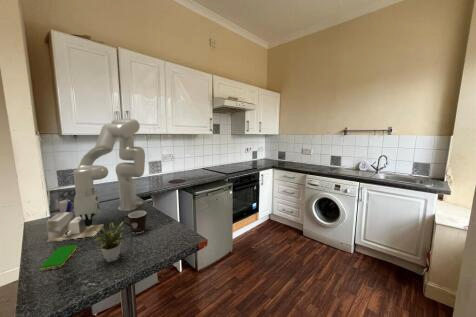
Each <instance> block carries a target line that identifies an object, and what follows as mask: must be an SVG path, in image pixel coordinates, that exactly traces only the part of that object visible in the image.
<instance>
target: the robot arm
mask: <svg viewBox="0 0 476 317" xmlns="http://www.w3.org/2000/svg"><path fill="white" fill-rule="evenodd" d="M140 126H141V125H140V122H139V121H138V120H136V119H132V118H131V119H130V118H115V119H113V120H112V121H111V123H107V124H106V123H105V124H104V125H103V126H101V130H100V132H99V135H98V137H97V141H96V144H95V145H94V147H93V148H91V149H90V150H89V151H87V152H86V154H84V155H83V157H82V158H81V160H80V162H79V165H78V167H77V168H76V169H74V170H73V180H74V190H75V195H74V199H73V211H74V217H81V218H83V220H84V223H85V225H86V227H90V226H91V225H92V224H93V217H94V216H97V215H99V214H100V210H101V208H100V201H99V197H98V194H97V192H98V189H97V188H95V186H94V181H98V180H103V179H105V178H107V176H108V174H109V169H108V167H106V166H104V165H95V164H94V163H95V161H96V160H97V159H99V158H101V157H103V156H105V155H108V154H111V152H113V150H114V146H115V145H116V141H117V139H118V140H119V147H118V157H119V159H120V160H122V161H124V162H119V163H118V164H117V165H116V167H115V175H116V177H117V178H116V179H117V181H118V182H117V184H118V195H119V206H118V207H117V210H118V211H120V212H129V211H130V212H131V211H133V210H136V209H138V208H139V206H141V205H143V201H142V200H140V201H139V200H138V199H137V197H136V186H135V185H136V183H135V180H134V178H141V177H142V176H143V175H144V173H145V164H146V153H145V149H144V148H143V147H141V146H135V138H134V136H133V135H135V134H136V133H138V132H139V130H140ZM125 161H130V162H125Z"/></svg>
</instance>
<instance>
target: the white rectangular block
mask: <svg viewBox="0 0 476 317" xmlns="http://www.w3.org/2000/svg"><path fill="white" fill-rule="evenodd" d="M69 228H70V231H69V232H68V233H67V235H70V234H78V233H81V232H82V231H83V230H84V229H85V228H86V225H85V223H84V220H83V218H81V217H78V216H75V217H73V220H71V222H70V223H69Z"/></svg>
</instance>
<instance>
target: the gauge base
mask: <svg viewBox="0 0 476 317" xmlns="http://www.w3.org/2000/svg"><path fill="white" fill-rule="evenodd" d="M71 221H72V220H71V219H70V212H65V213H60V212H58V213H57V214H55V215H54V216H52V217H51V218H49V219H48V220H47V221H46V229H47V236H48V239H47V240H46V243H47V242H48V243H55V242H54V241H57V242H64V241H63V240H65V241H71V240H70V239H74V240H78V239H77V238H83V239H86V238H85V237H92V236H95V235H96V234H97V233H98V232H97V231H99V232H101V231H102V230H101V228H99V226H100V225H101V226H103V227H104V223H102V224H93V225H92V224H91V226H90V227H86V228H85V229H84V230H83V231H82V232H81V233H78V234H70V235H68V236H67V235H65V233H66V232H67V231H66V226H67V230H68V231H70V228H69V223H70V222H71ZM101 226H100V227H101ZM93 229H95V230H97V231H95V230H93ZM98 234H99V233H98ZM98 234H97V235H98ZM97 235H96V236H97ZM96 236H95V237H96ZM92 238H93V237H92Z"/></svg>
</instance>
